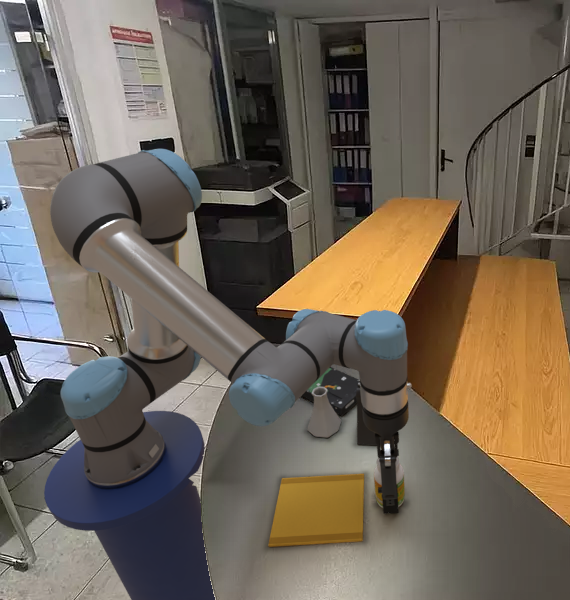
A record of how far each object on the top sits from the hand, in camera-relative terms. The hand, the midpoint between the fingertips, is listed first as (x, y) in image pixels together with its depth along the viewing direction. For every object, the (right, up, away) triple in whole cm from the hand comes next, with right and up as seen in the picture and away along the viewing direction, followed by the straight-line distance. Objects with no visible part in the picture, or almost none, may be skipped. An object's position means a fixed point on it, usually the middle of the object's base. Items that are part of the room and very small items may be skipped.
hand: (390, 496), depth 89 cm
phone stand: (-4, +8, +16) cm, 18 cm away
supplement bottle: (0, 0, 0) cm, 0 cm away
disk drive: (-14, +14, +27) cm, 34 cm away
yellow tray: (-13, -2, -1) cm, 13 cm away
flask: (-15, +8, +18) cm, 24 cm away
